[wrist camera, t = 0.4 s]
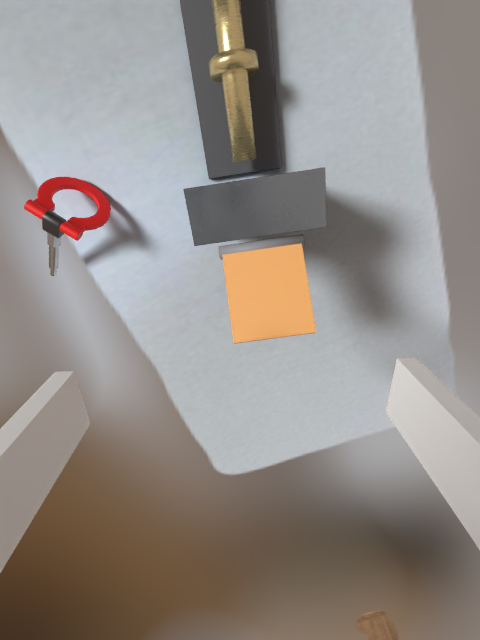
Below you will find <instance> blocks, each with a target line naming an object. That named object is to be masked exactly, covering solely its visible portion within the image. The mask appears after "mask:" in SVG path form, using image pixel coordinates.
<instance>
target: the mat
mask: <svg viewBox="0 0 480 640" xmlns="http://www.w3.org/2000/svg"><path fill="white" fill-rule="evenodd" d="M240 2H241V11H242V21H243V31H244V41H245V48H247V49H252V50H254V51H256V52H257V55H258V66H259V70H258V72H257V73H256V74H255V75H253V76H251V77H249V78H248V79H249V89H250V99H251V108H252V118H253V128H254V138H255V147H256V157H257V159H254V160H250V161H244V162H235V163H234V162H233V160H232V153H231V145H230V137H229V130H228V122H227V115H226V107H225V99H224V92H223V84H222V83H220V82H215V81H213V80H212V79H211V78H210V71H209V60H210V59H211V58H212V57H213V56H215V55H216V54H218V46H217V39H216V31H215V24H214V16H213V8H212V1H211V0H180V4H181V11H182V17H183V23H184V29H185V35H186V41H187V47H188V53H189V60H190V66H191V72H192V78H193V84H194V90H195V96H196V102H197V109H198V115H199V121H200V127H201V133H202V139H203V145H204V151H205V158H206V164H207V170H208V176H209V179H211V178H218V177H224V176H231V175H237V174H244V173H250V172H257V171H263V170H270V169H276V168H281V155H280V141H279V128H278V114H277V101H276V88H275V74H274V61H273V47H272V34H271V20H270V7H269V0H240Z"/></svg>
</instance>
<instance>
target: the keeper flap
mask: <svg viewBox="0 0 480 640" xmlns="http://www.w3.org/2000/svg"><path fill="white" fill-rule="evenodd" d="M303 248H304V236H303V234H302V235H295V236H288V237H281V238H274V239H267V240H260V241H253V242H246V243H239V244H233V245H226V246H219V254H220V259H221V260H222V259H223V264H224V272H225V280H226V287H227V295H228V303H229V311H230V319H231V327H232V334H233V342H234V344H235V343H242V342H250V341H257V340H265V339H272V338H280V337H287V336H295V335H302V334H310V333H315V332H316V329H315V322H314V316H313V310H312V304H311V298H310V291H309V285H308V279H307V273H306V266H305V260H304V254H303Z"/></svg>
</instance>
